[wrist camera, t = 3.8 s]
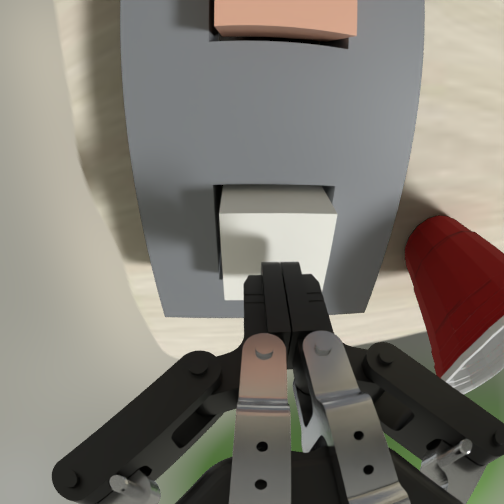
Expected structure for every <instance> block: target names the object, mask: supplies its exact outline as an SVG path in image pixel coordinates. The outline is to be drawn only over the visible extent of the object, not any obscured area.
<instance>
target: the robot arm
mask: <svg viewBox="0 0 504 504" xmlns="http://www.w3.org/2000/svg"><path fill="white" fill-rule="evenodd" d="M243 288H244V339H243V341H242V343H241V345H240V346H239V347H238V348H237V349H235V350H234V351H232V352H230V353H227V354H224V355H220V356H217V357H216V356H214V355H213V354H211V353H209V352H206V351H193V352H190V353H188V354H186V355H184V356H183V357H182V358H181V359H180V360H179V361H177V362H176V363H175V364H174V365H173V366H172V367H171V368H170V369H168V370H167V371H166V372H165V373H164V374H163V375H162V376H160V377H159V378H158V379H157V380H156V381H155V382H154V383H152V384H151V385H150V386H149V387H148V388H147V389H145V390H144V391H143V392H142V393H141V394H140V395H139V396H138V397H136V398H135V399H134V400H133V401H131V402H130V403H129V404H128V405H127V406H126V407H124V408H123V409H122V410H121V411H120V412H118V413H117V414H116V415H115V416H114V417H113V418H111V419H110V420H109V421H108V422H107V423H105V424H104V425H103V426H102V427H101V428H99V429H98V430H97V431H96V432H95V433H93V434H92V435H91V436H90V437H89V438H87V439H86V440H85V441H84V442H82V443H81V444H80V445H79V446H77V447H76V448H75V449H74V450H73V451H71V452H70V453H69V454H68V455H66V456H65V457H64V458H63V459H61V460H60V461H59V462H58V463H57V464H56V465H55V467H54V468H53V471H52V481H53V484H54V487H55V489H56V490H57V491H58V493H59V494H60V495H61V496H63V497H64V498H66V499H68V500H71V501H74V502H77V503H79V504H158V503H159V501H160V497H161V493H160V489H159V486H158V485H157V483H156V482H155V480H156V479H157V478H158V477H159V476H161V475H162V474H163V473H164V472H165V471H166V470H167V469H168V468H169V467H170V466H171V465H173V464H174V463H175V462H176V461H177V460H178V459H179V458H180V457H181V456H182V455H183V454H184V453H185V452H186V451H187V450H188V449H189V448H190V447H191V446H192V445H193V444H194V443H195V442H196V441H197V440H198V439H199V438H200V437H201V436H202V435H203V434H204V433H205V432H206V431H207V430H208V429H209V428H210V427H211V426H212V425H213V424H214V423H215V422H216V421H217V420H218V419H219V417H221V416H222V415H223V413H224V412H226V411H229V410H233V409H236V408H237V410H236V421H235V434H234V446H233V457H230V458H227V459H225V460H223V461H220V462H218V463H217V464H215V465H214V466H212V467H211V468H210V469H209V470H207V471H206V472H205V473H204V474H203V475H202V476H201V477H200V478H199V479H198V480H197V482H196V483H195V484H194V485H193V486H192V487H191V488H190V489H189V490H188V491H187V492H186V493H185V494H184V495H183V496H182V497H181V498H180V499H179V500H178V501H177V502H176V503H175V504H466V503H467V501H468V499H469V498H470V496H471V494H472V492H473V491H474V489H475V487H476V485H477V483H478V481H479V480H480V478H481V476H482V474H483V471H484V470H485V468H486V465H487V464H488V463H490V462H492V461H494V460H495V459H497V458H499V457H500V456H502V455H504V423H502V422H501V421H500V420H498V419H497V418H495V417H494V416H493V415H491V414H490V413H488V412H487V411H486V410H484V409H483V408H481V407H480V406H479V405H477V404H476V403H474V402H473V401H472V400H470V399H469V398H467V397H466V396H465V395H463V394H462V393H460V392H459V391H458V390H456V389H455V388H453V387H452V386H451V385H449V384H448V383H446V382H445V381H444V380H442V379H441V378H439V377H438V376H437V375H435V374H434V373H432V372H431V371H429V370H428V369H427V368H425V367H424V366H423V365H421V364H420V363H418V362H417V361H415V360H414V359H413V358H411V357H410V356H408V355H407V354H406V353H404V352H403V351H401V350H400V349H398V348H397V347H396V346H394V345H392V344H390V343H386V342H379V343H375V344H373V345H372V346H371V347H370V348H369V349H368V350H366V349H361V348H356V347H351V346H348V345H346V344H344V343H342V341H341V340H340V338H339V337H338V336H336V335H335V334H334V332H333V329H332V326H331V322H330V318H329V315H328V311H327V308H326V304H325V302H324V297H323V294H322V291H321V287H320V284H319V282H318V281H317V279H316V278H315V277H314V276H313V275H312V274H302V272H301V268H300V264H299V262H261V275H248V277H247V279H246V280H245V282H244V284H243ZM287 369H293V372H294V381H293V391H294V396H295V400H296V405H297V409H298V414H299V419H300V424H301V429H302V448H303V452H296V451H291V424H290V407H289V404H288V401H287ZM383 432H384V433H386V434H387V435H388V436H390V437H391V438H392V439H394V440H395V441H396V442H398V443H399V444H401V445H402V446H403V447H405V448H406V449H407V450H409V451H410V452H411V453H413V454H414V455H415V456H417V457H418V458H420V459H421V460H422V464H421V468H420V471H419V470H418V469H417V468H415V467H414V466H413V465H412V464H410V463H409V462H408V461H407V460H405V459H404V458H403V457H402V456H400V455H399V454H398V453H396V452H395V451H393V450H392V449H390V448H388V445H387V442H386V439H385V436H384V433H383Z"/></svg>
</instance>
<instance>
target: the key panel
mask: <svg viewBox="0 0 504 504" xmlns="http://www.w3.org/2000/svg"><path fill="white" fill-rule="evenodd" d="M214 1H215V0H121V2H120V42H121V68H122V84H123V96H124V107H125V117H126V126H127V135H128V143H129V150H130V157H131V164H132V171H133V177H134V183H135V189H136V194H137V200H138V205H139V211H140V216H141V221H142V226H143V230H144V235H145V240H146V244H147V249H148V253H149V257H150V262H151V266H152V270H153V274H154V278H155V282H156V286H157V289H158V293H159V297H160V301H161V304H162V308H163V311H164V315H165V317H187V318H244V300H225V299H224V285H223V270H222V255H221V238H220V221H219V211H220V204H221V197H222V184H290V185H321V186H322V187H323V189H324V191H325V193H326V194H327V196H328V198H329V200H330V201H331V203H332V205H333V207H334V209H335V210H336V212H337V220H336V225H335V231H334V236H333V242H332V247H331V252H330V257H329V262H328V267H327V271H326V276H325V281H324V285H323V290H322V294H323V297H324V302H325V304H326V308H327V311H328V315H336V314H351V313H364V312H365V310H366V307H367V304H368V302H369V299H370V296H371V293H372V291H373V288H374V285H375V282H376V279H377V276H378V273H379V270H380V267H381V264H382V261H383V258H384V255H385V252H386V249H387V245H388V242H389V239H390V235H391V232H392V228H393V225H394V221H395V217H396V214H397V210H398V206H399V202H400V198H401V194H402V190H403V186H404V181H405V177H406V172H407V168H408V163H409V158H410V153H411V148H412V142H413V136H414V131H415V124H416V118H417V111H418V103H419V96H420V87H421V77H422V65H423V50H424V21H425V8H424V0H357V36H354V37H349V38H343V39H338V40H334V41H329V42H323V41H320V45H314V44H304V43H293V42H277V41H219V32H218V30H217V29H216V28H215V26H214Z"/></svg>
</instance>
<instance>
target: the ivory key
mask: <svg viewBox="0 0 504 504" xmlns="http://www.w3.org/2000/svg"><path fill="white" fill-rule="evenodd" d="M336 220H337V212H336V210H335V209H334V207H333V205H332V203H331V201H330V200H329V198H328V196H327V194H326V193H325V191H324V189H323V187H322V186H321V185H290V184H223V190H222V197H221V204H220V211H219V221H220V238H221V255H222V270H223V285H224V299H225V300H244V288H243V284H244V282H245V280H246V279H247V277H248V275H261V262H299V264H300V268H301V272H302V274H312V275H313V276H314V277H315V278H316V279H317V281H318V282H319V284H320V287H321V291H322V290H323V285H324V281H325V276H326V271H327V267H328V262H329V257H330V252H331V247H332V242H333V236H334V231H335V225H336Z"/></svg>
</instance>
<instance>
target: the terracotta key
mask: <svg viewBox="0 0 504 504" xmlns="http://www.w3.org/2000/svg"><path fill="white" fill-rule="evenodd" d="M214 26H215V28H216V29H217V30H218V32H219V33H220V34H221V36H222V37H240V36H250V37H280V38H295V39H306V40H315V41H323V42H329V41H334V40H338V39H343V38H349V37H354V36H357V0H215V1H214Z"/></svg>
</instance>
